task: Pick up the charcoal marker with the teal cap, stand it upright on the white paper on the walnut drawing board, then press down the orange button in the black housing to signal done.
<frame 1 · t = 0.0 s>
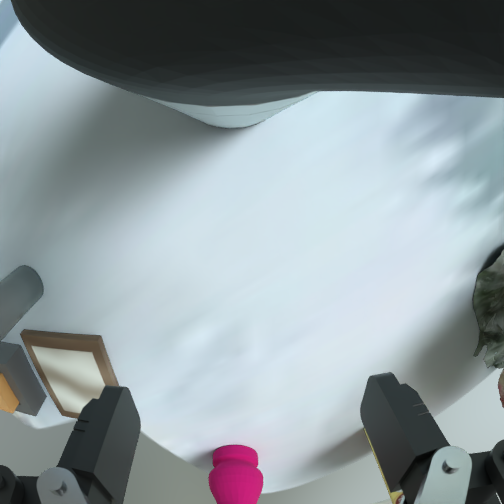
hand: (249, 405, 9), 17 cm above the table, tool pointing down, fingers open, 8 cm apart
candy box: (383, 430, 37), on the table
button housing: (11, 368, 30), on the table
marker: (28, 283, 26), on the table
drawing board: (78, 379, 30), on the table
pepper mill: (235, 454, 37), on the table
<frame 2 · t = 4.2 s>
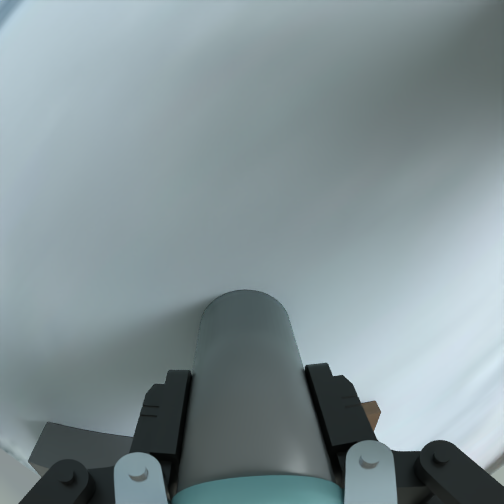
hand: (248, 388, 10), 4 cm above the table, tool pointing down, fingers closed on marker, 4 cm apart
button housing: (119, 466, 17), on the table
marker: (245, 329, 14), on the table, touching gripper
drawing board: (280, 471, 18), on the table
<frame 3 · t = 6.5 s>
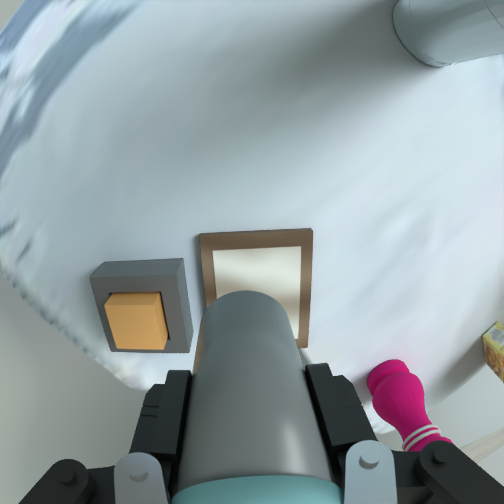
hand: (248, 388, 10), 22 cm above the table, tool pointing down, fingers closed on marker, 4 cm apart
candy box: (491, 342, 39), on the table
button housing: (148, 298, 33), on the table
marker: (245, 330, 14), point 18 cm above the table, touching gripper
drawing board: (258, 294, 33), on the table
done button: (139, 317, 29), point 4 cm above the table, slide at 0.0 cm
pepper mill: (385, 374, 39), on the table
when the fingers open (6 cm above the table, at t = 9.3 s): marker stays where it is, resting on drawing board.
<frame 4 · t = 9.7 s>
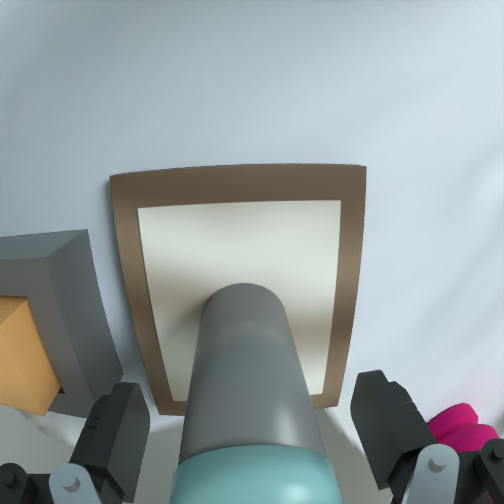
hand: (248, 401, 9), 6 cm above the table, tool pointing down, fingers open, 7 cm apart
button housing: (41, 308, 15), on the table
marker: (243, 321, 14), point 1 cm above the table, touching drawing board
drawing board: (243, 308, 15), on the table
done button: (6, 345, 11), point 4 cm above the table, slide at 0.0 cm
pepper mill: (443, 424, 21), on the table
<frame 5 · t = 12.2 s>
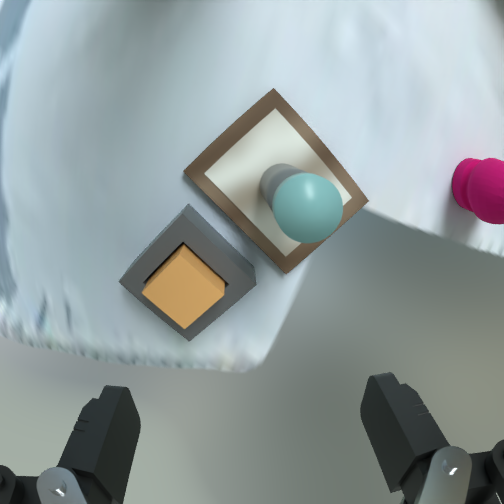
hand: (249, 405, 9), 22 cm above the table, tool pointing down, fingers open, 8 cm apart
button housing: (190, 266, 31), on the table
marker: (281, 185, 28), point 1 cm above the table, touching drawing board
drawing board: (279, 183, 29), on the table
done button: (185, 283, 27), point 4 cm above the table, slide at 0.0 cm
pepper mill: (468, 183, 30), on the table
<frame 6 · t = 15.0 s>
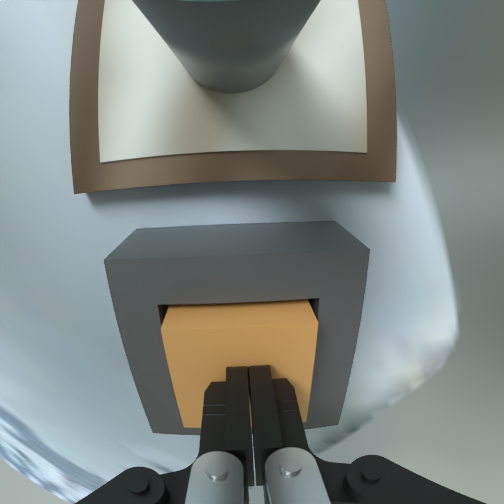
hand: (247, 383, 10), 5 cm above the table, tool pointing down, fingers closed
button housing: (239, 313, 15), on the table
marker: (232, 47, 10), point 1 cm above the table, touching drawing board
drawing board: (230, 55, 11), on the table
done button: (240, 352, 12), point 3 cm above the table, slide at 0.9 cm, touching gripper
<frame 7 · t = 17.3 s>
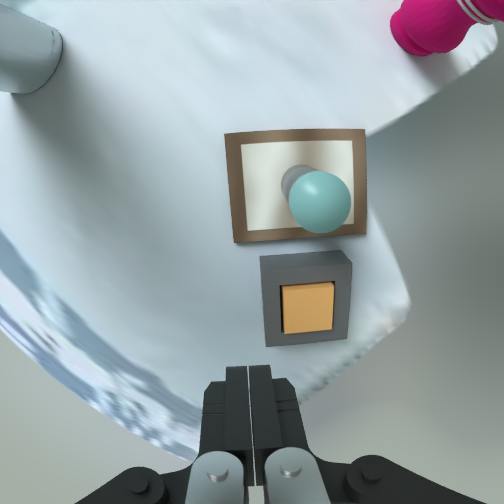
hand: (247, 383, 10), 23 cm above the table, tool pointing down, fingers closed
button housing: (301, 290, 35), on the table
marker: (301, 184, 30), point 1 cm above the table, touching drawing board
drawing board: (298, 183, 31), on the table
done button: (305, 301, 32), point 3 cm above the table, slide at 1.3 cm
pepper mill: (412, 33, 25), on the table
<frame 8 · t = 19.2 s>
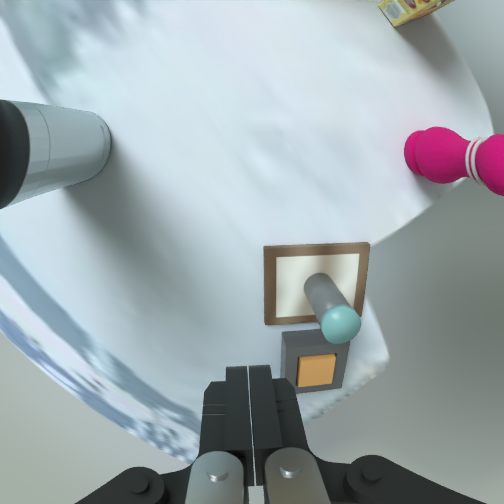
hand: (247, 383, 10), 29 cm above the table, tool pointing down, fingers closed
candy box: (404, 9, 29), on the table
button housing: (310, 353, 45), on the table
marker: (318, 286, 40), point 1 cm above the table, touching drawing board
drawing board: (315, 283, 41), on the table
done button: (314, 364, 43), point 3 cm above the table, slide at 1.3 cm
pepper mill: (421, 152, 36), on the table
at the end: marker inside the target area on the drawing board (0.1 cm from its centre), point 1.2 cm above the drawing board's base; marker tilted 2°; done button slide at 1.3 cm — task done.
